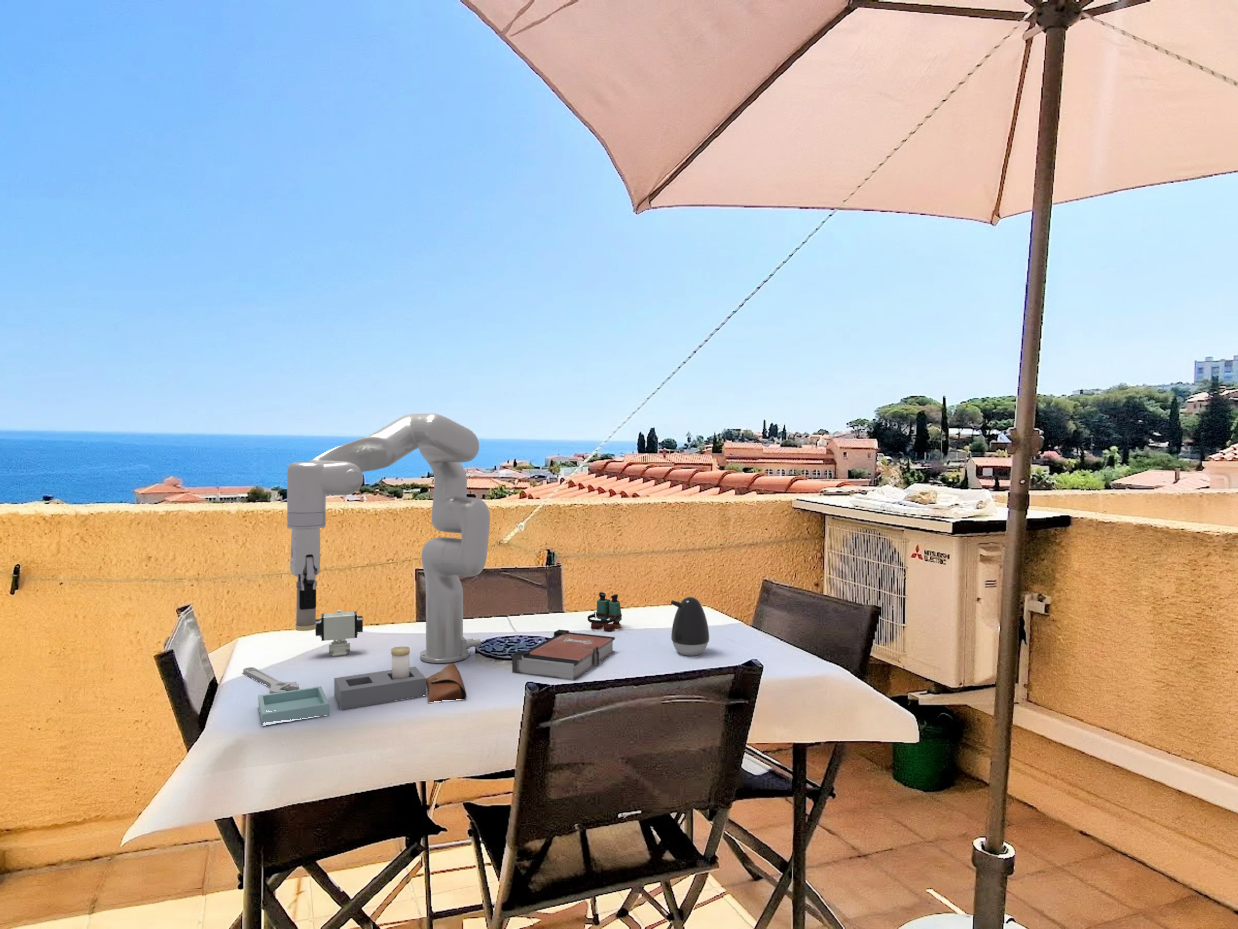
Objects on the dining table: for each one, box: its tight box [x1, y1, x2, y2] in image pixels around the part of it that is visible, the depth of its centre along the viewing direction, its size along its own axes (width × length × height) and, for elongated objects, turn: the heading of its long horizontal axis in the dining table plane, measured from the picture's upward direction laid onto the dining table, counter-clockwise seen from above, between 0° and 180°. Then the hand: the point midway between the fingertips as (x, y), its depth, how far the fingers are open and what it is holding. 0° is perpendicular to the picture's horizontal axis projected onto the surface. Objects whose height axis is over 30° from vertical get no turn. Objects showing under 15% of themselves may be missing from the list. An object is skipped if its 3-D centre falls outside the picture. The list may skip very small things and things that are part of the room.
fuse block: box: [333, 666, 427, 710], centre depth 166 cm, size 18×10×4 cm, turn 119°
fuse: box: [390, 646, 411, 680], centre depth 168 cm, size 4×4×10 cm
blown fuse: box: [295, 580, 318, 632], centre depth 157 cm, size 4×4×10 cm
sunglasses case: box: [425, 662, 467, 703], centre depth 171 cm, size 18×7×7 cm, turn 19°
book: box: [511, 629, 616, 681], centre depth 192 cm, size 26×18×5 cm
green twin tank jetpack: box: [587, 591, 623, 632], centre depth 226 cm, size 9×11×10 cm
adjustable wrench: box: [242, 666, 300, 694], centre depth 176 cm, size 25×6×2 cm, turn 42°
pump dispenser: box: [670, 596, 710, 657], centre depth 200 cm, size 10×10×15 cm
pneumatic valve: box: [314, 609, 364, 657], centre depth 199 cm, size 6×12×12 cm, turn 111°
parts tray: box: [257, 685, 330, 723], centre depth 156 cm, size 13×13×2 cm
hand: (306, 606), depth 157 cm, fingers closed on blown fuse, 3 cm apart
